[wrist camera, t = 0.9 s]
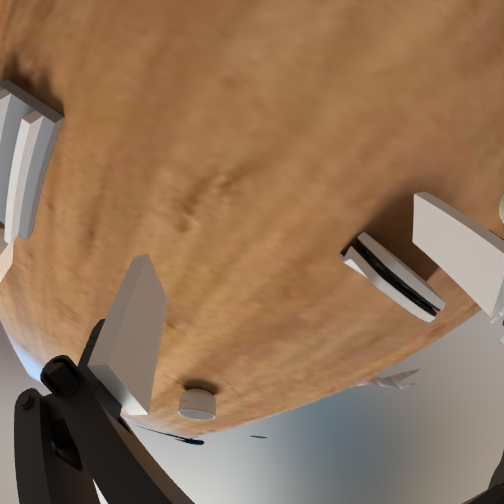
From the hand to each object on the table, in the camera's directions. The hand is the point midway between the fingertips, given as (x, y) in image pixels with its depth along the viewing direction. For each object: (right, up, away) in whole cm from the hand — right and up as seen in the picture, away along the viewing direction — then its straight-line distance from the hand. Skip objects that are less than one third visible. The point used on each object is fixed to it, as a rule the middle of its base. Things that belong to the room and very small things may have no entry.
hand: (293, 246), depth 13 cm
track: (-36, +12, +17) cm, 42 cm away
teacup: (-17, -42, +67) cm, 81 cm away
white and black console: (+18, -2, +25) cm, 31 cm away
